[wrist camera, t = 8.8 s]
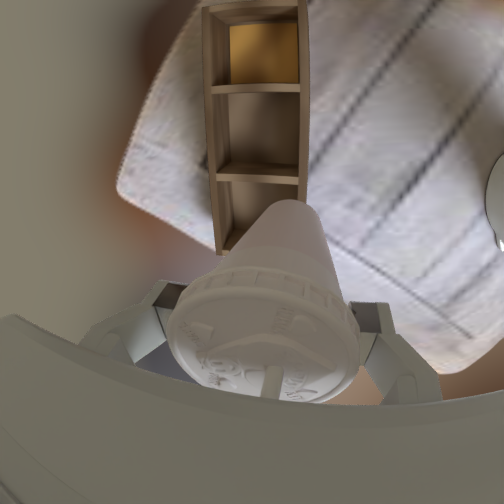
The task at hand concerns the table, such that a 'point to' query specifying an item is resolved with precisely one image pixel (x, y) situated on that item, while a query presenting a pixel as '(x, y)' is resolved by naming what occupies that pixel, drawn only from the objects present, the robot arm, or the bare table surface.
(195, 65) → the table surface
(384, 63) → the table surface
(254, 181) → the caddy
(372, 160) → the table surface
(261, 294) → the smoothie
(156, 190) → the table surface
